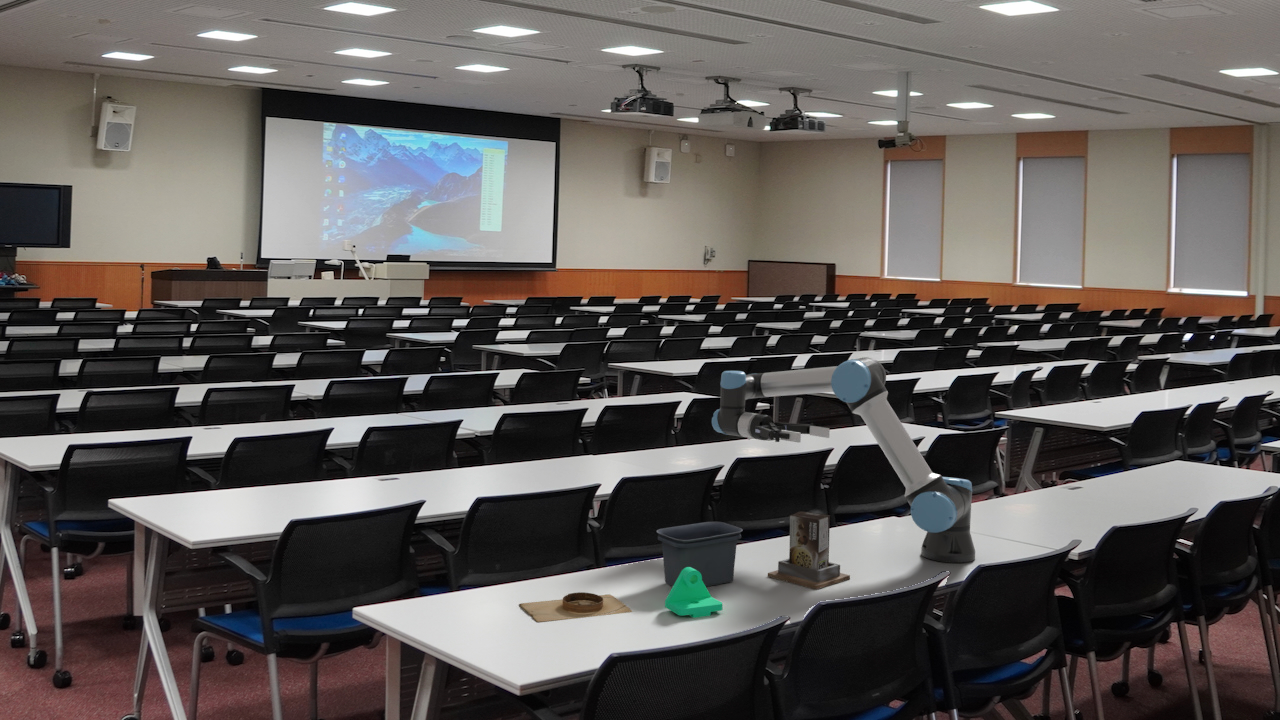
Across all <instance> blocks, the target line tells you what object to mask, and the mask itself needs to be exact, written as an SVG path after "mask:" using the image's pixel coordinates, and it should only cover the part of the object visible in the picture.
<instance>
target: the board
mask: <svg viewBox="0 0 1280 720" xmlns="http://www.w3.org/2000/svg"><path fill="white" fill-rule="evenodd" d="M518 607H520V609H521V610H523V611H524V612H525V614H528V615H529V616H530V617H531V618H532V619H533V621H534V622H536V623H539V624H540V623H548V622H554V621H555V622H556V621H565V620H572V619H573V620H574V619H581V618H582V619H583V618H592V617H593V618H594V617H601V616H607V615H608V616H609V615H617V614H619V615H620V614H627V613H633V610H632V609H631V608H630V607H629V606H627V605H626V604H625V603H624V602H622V601H621V600H619V599H618V598H617V597H615V596H614V595H612V594H610V593H609V594H601V595H599V594H596V593H591V592H581V591H579V592H571V593H568V594H566V595H564V596H563V597H562V598H561V599H553V600H543V601H533V602H532V601H531V602H522V603H519V604H518Z"/></svg>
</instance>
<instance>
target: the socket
mask: <svg viewBox="0 0 1280 720" xmlns="http://www.w3.org/2000/svg"><path fill="white" fill-rule="evenodd" d="M777 565H778V567H777V570H773V571H769V572H767V577H769V578H771V579H776V580H779V581H783V582H786V583H790V584H792V585H797V586H801V587H804V588H809V589H812V590H819V589H822V588H825V587H829V586H832V585H835V584H838V583H841V582H845V581H847V580H850V579H851V575H850V574H846V573H842V572H841V564H838V563H833V562H831V561H829V567H826V568H822V569H819V570H815V569H811V568H807V567H803V566H799V565H795V564H791V563H789V558H785V559H782V560H779V561H778V563H777Z"/></svg>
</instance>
